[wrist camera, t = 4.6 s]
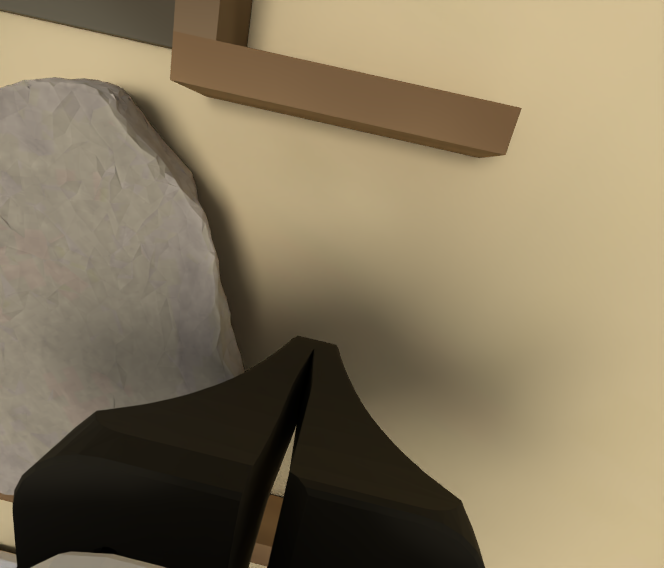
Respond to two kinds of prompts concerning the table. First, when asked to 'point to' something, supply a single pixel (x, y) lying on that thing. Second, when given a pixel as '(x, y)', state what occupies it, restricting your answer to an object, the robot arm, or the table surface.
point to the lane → (283, 93)
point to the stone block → (97, 268)
